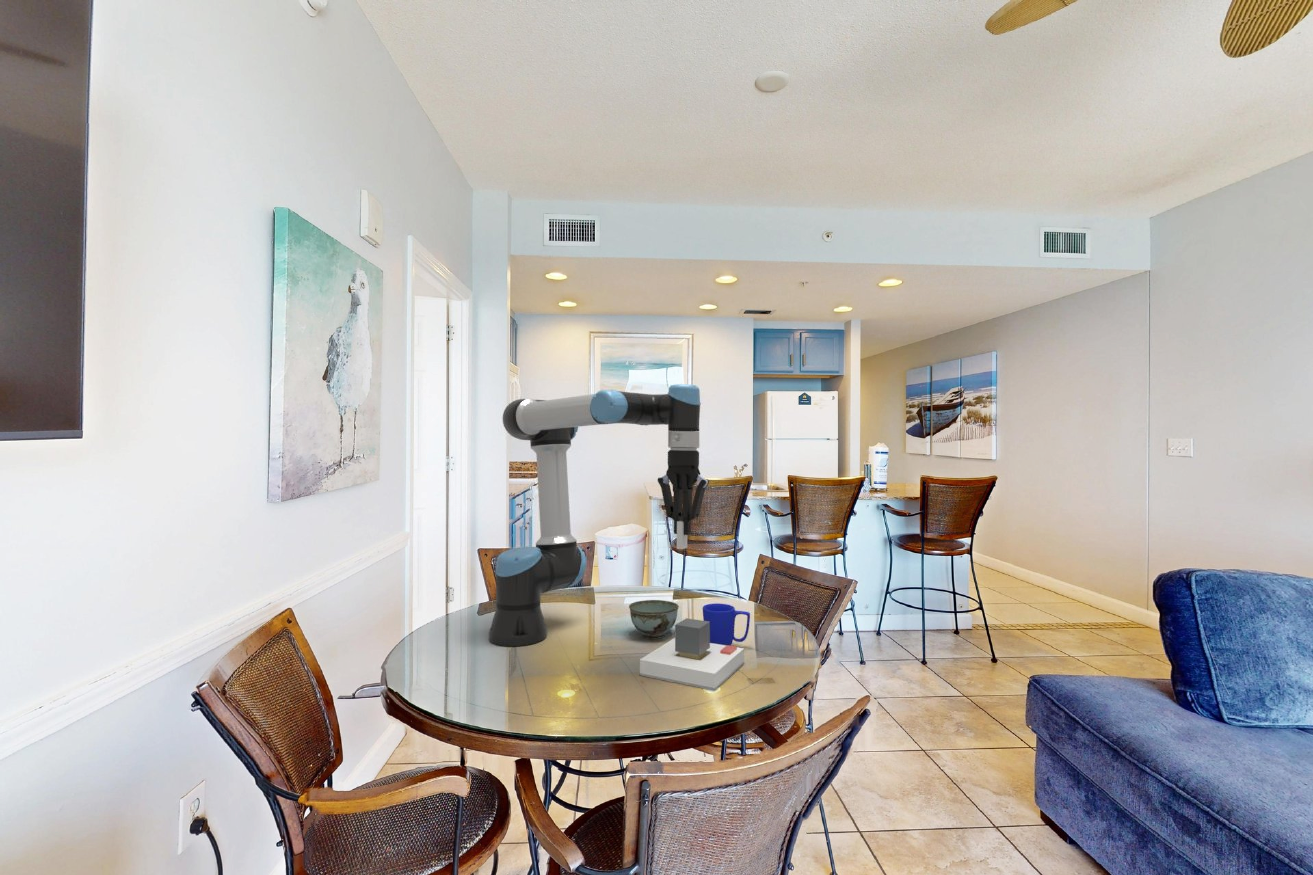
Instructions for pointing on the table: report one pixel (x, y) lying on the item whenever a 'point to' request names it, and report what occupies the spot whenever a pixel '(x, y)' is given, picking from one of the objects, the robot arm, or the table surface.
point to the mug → (723, 623)
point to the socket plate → (693, 665)
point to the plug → (692, 638)
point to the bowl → (653, 617)
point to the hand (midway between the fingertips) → (681, 548)
